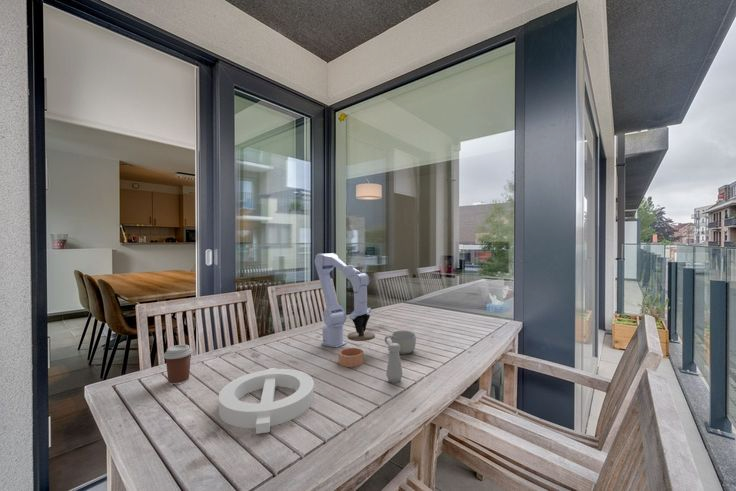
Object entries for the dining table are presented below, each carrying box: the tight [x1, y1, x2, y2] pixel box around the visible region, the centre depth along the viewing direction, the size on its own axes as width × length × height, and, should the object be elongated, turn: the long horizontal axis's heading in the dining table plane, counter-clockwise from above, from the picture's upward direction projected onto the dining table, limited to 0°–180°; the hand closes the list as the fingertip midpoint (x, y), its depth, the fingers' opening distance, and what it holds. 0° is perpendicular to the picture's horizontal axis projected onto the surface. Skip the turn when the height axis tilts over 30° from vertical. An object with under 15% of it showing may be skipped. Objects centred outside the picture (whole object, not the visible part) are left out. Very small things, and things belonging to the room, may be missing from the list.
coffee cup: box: [162, 344, 194, 385], centre depth 113 cm, size 9×9×12 cm
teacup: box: [384, 330, 417, 355], centre depth 141 cm, size 14×11×8 cm
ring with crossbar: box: [218, 367, 315, 435], centre depth 98 cm, size 28×28×5 cm
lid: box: [347, 326, 376, 342], centre depth 139 cm, size 12×12×4 cm
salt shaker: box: [385, 342, 404, 384], centre depth 112 cm, size 6×6×13 cm
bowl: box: [338, 347, 364, 368], centre depth 129 cm, size 10×10×4 cm
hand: (360, 332), depth 139 cm, fingers closed on lid, 2 cm apart
